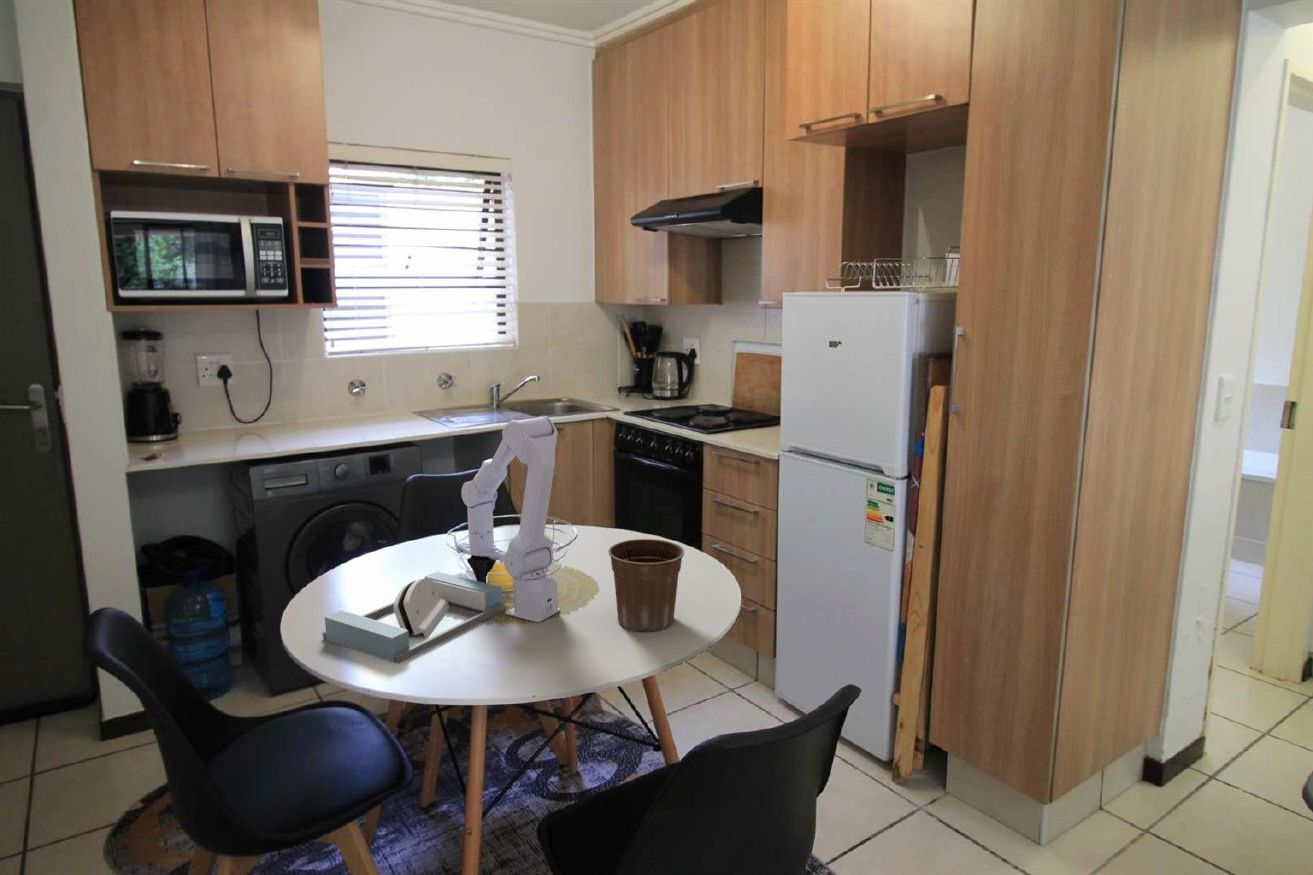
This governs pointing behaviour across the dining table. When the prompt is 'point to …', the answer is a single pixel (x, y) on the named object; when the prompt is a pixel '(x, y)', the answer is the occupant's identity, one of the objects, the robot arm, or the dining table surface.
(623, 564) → the plant pot
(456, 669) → the dining table surface
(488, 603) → the block
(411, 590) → the hinge
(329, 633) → the vise
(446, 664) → the dining table surface
